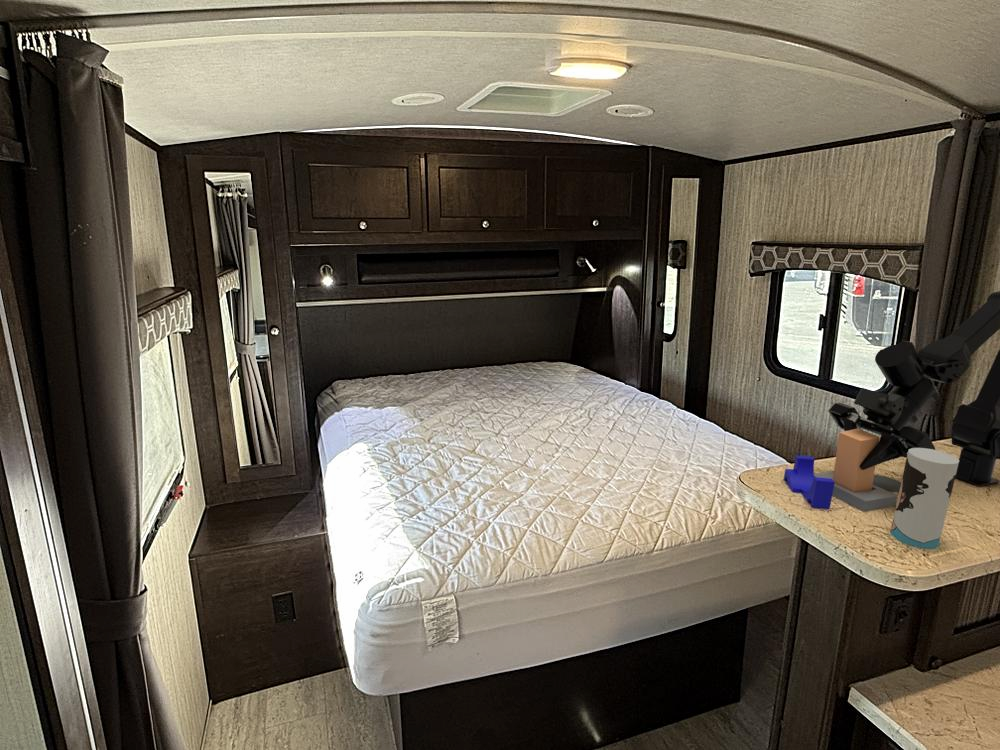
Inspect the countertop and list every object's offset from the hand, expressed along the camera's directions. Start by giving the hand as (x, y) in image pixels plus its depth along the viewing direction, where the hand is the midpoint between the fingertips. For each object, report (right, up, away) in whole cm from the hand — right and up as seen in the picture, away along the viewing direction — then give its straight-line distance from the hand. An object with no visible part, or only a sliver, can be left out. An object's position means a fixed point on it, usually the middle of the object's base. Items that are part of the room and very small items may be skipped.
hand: (849, 463), depth 114 cm
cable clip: (-7, -7, +2) cm, 10 cm away
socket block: (+2, -7, +3) cm, 7 cm away
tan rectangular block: (+2, -6, +2) cm, 7 cm away
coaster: (+11, -6, +8) cm, 15 cm away
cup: (+3, -11, -13) cm, 17 cm away
